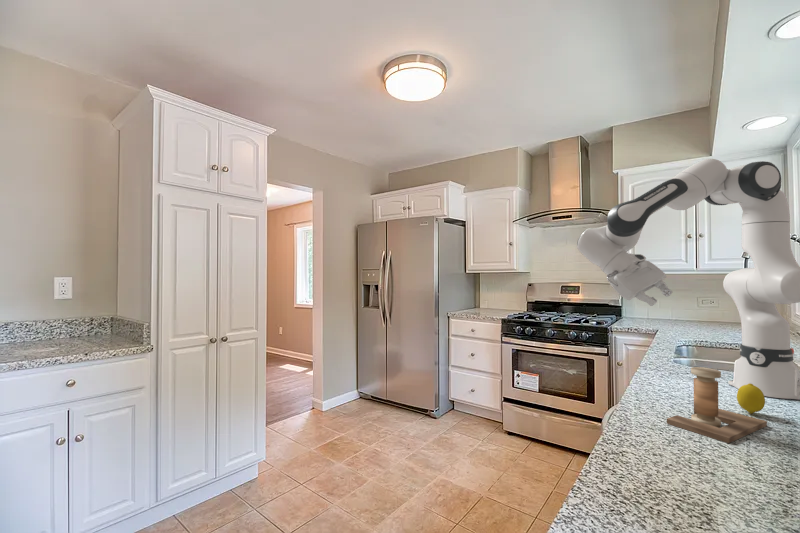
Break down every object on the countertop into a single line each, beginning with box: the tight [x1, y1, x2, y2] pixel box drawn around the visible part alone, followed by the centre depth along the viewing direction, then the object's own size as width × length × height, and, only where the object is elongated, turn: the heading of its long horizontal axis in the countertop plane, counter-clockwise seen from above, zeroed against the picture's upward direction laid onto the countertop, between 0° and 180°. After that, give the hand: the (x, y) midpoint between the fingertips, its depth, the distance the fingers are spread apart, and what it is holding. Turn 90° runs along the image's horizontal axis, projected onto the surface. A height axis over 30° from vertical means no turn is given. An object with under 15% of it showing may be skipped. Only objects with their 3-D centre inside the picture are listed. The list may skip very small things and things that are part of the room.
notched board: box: [666, 407, 768, 444], centre depth 95 cm, size 20×12×1 cm, turn 119°
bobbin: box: [690, 366, 722, 428], centre depth 96 cm, size 6×6×13 cm
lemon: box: [736, 383, 766, 415], centre depth 102 cm, size 6×6×8 cm
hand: (662, 299), depth 111 cm, fingers open, 8 cm apart
